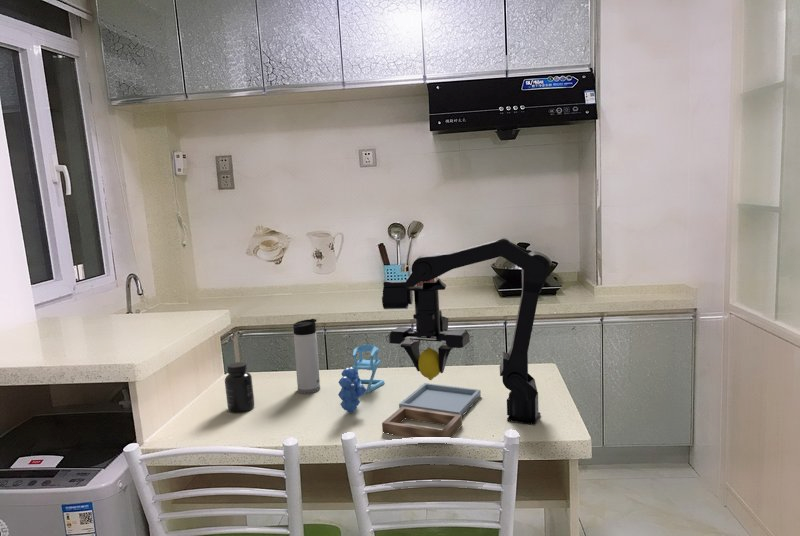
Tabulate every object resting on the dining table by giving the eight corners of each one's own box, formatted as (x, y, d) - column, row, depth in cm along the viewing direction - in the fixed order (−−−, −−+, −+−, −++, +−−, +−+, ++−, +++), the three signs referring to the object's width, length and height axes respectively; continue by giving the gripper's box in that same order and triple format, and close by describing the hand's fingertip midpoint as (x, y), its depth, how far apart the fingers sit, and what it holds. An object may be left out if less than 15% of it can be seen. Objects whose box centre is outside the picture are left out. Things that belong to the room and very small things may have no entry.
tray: (480, 396, 148) (480, 389, 147) (459, 419, 134) (459, 412, 133) (425, 389, 155) (424, 383, 155) (399, 410, 141) (399, 403, 140)
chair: (350, 392, 155) (347, 350, 154) (359, 381, 163) (356, 342, 162) (376, 393, 154) (374, 351, 152) (384, 382, 162) (382, 342, 160)
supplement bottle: (246, 401, 152) (242, 358, 150) (259, 407, 147) (255, 363, 145) (222, 409, 147) (218, 365, 146) (235, 415, 142) (231, 370, 141)
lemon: (441, 384, 132) (439, 351, 130) (417, 383, 133) (415, 351, 131) (443, 376, 137) (441, 344, 136) (420, 376, 138) (419, 344, 137)
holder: (462, 425, 130) (461, 415, 130) (445, 444, 121) (444, 433, 121) (402, 416, 137) (402, 406, 137) (382, 433, 128) (382, 422, 128)
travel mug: (325, 389, 158) (320, 320, 155) (303, 395, 155) (298, 324, 152) (315, 383, 163) (310, 316, 161) (294, 389, 160) (289, 320, 157)
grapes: (361, 422, 134) (358, 374, 133) (334, 421, 136) (331, 374, 134) (373, 404, 146) (371, 359, 144) (348, 403, 147) (346, 359, 145)
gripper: (475, 302, 136) (477, 364, 138) (405, 300, 144) (408, 359, 146) (460, 312, 126) (463, 379, 128) (386, 309, 134) (389, 372, 136)
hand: (430, 371), depth 135 cm, fingers closed on lemon, 5 cm apart
